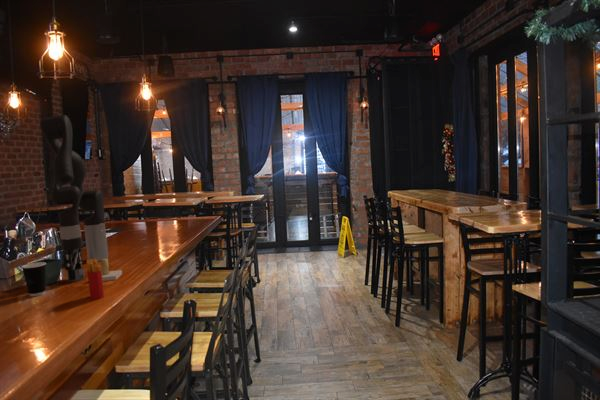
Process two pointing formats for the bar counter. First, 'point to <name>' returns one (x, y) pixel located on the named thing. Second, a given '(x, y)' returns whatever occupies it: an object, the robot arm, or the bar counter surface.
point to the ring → (77, 274)
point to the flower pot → (51, 269)
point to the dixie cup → (35, 278)
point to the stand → (109, 274)
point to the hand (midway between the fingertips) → (75, 277)
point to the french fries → (95, 279)
